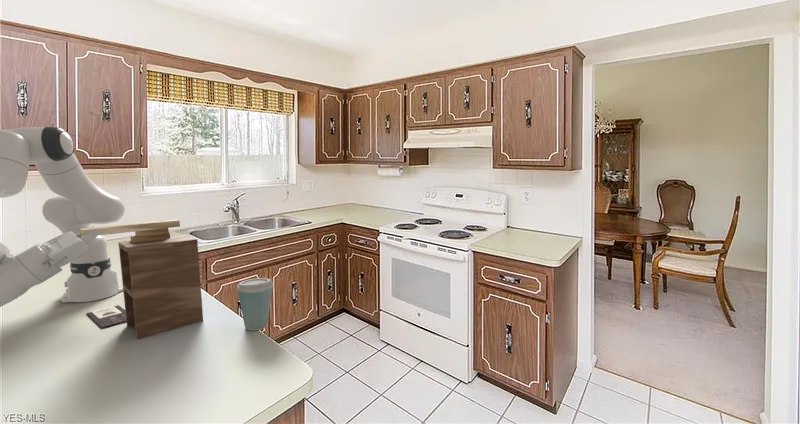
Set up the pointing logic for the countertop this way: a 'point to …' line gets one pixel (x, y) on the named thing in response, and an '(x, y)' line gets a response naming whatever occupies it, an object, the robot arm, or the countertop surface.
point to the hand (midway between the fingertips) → (98, 229)
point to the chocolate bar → (108, 316)
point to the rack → (160, 281)
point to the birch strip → (132, 227)
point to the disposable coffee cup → (255, 302)
